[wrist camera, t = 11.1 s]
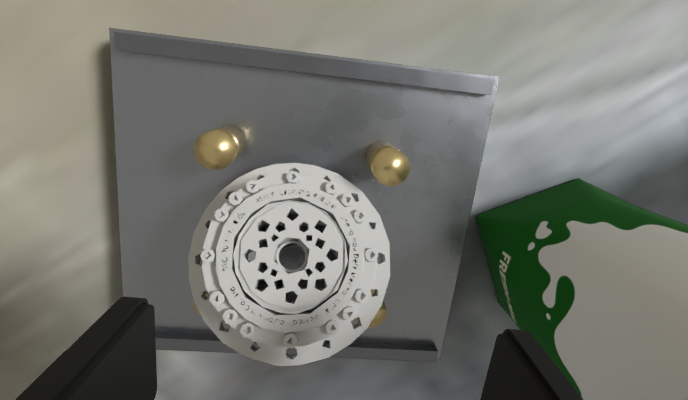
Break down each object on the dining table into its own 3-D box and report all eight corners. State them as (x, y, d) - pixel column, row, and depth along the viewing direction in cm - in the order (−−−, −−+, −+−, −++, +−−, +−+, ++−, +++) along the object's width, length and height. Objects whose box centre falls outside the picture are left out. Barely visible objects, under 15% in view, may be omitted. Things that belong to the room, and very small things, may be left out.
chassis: (483, 77, 22) (529, 74, 18) (431, 339, 27) (456, 392, 22) (128, 33, 20) (71, 16, 16) (139, 324, 25) (98, 379, 20)
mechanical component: (421, 259, 21) (295, 135, 22) (453, 253, 17) (294, 99, 17) (291, 404, 19) (154, 260, 19) (288, 441, 15) (113, 255, 15)
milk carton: (457, 207, 25) (959, 618, 5) (591, 159, 24) (1602, 411, 5) (488, 317, 27) (906, 863, 8) (609, 274, 27) (1341, 730, 8)
